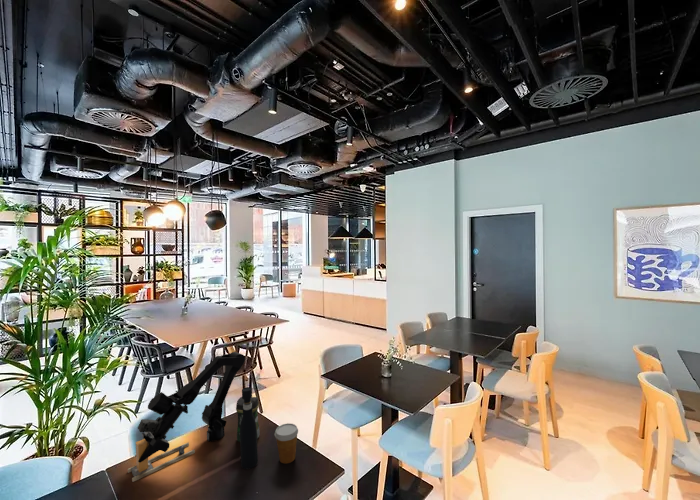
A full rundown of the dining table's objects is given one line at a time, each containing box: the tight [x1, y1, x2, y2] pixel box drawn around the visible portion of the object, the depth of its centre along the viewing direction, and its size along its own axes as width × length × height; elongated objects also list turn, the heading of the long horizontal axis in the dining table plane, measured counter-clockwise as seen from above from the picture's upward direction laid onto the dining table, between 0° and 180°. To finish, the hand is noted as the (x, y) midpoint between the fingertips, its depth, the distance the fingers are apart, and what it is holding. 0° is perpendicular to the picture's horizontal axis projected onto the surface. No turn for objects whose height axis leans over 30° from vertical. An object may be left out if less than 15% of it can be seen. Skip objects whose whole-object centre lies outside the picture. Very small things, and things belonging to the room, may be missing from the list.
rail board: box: [127, 441, 196, 482], centre depth 126 cm, size 22×8×2 cm, turn 136°
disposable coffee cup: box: [274, 422, 299, 464], centre depth 127 cm, size 10×10×12 cm
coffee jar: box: [235, 396, 260, 443], centre depth 142 cm, size 10×8×19 cm
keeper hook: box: [176, 444, 185, 456], centre depth 131 cm, size 2×2×3 cm
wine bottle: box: [239, 386, 259, 470], centre depth 125 cm, size 6×6×30 cm
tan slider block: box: [131, 438, 154, 477], centre depth 121 cm, size 6×6×11 cm
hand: (137, 459), depth 120 cm, fingers closed on tan slider block, 4 cm apart
